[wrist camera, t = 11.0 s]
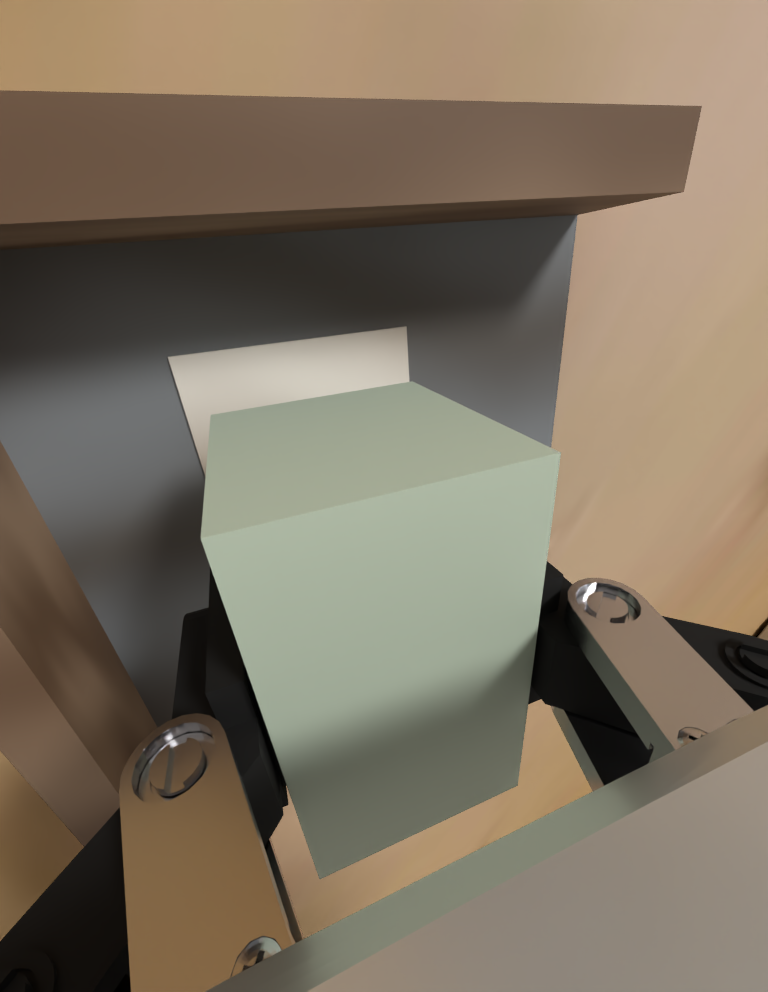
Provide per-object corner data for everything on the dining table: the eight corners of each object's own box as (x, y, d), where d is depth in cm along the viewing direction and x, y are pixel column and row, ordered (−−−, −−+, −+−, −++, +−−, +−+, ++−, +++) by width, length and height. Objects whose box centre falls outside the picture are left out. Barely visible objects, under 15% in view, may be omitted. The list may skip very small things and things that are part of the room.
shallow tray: (520, 640, 22) (576, 705, 18) (146, 776, 17) (127, 896, 14) (569, 157, 12) (701, 106, 9) (-231, 171, 8) (-590, 76, 4)
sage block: (412, 381, 10) (560, 452, 5) (424, 629, 13) (517, 785, 9) (210, 415, 8) (200, 538, 4) (285, 676, 12) (319, 879, 8)
